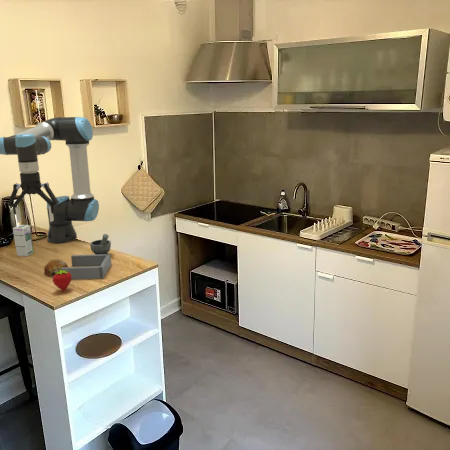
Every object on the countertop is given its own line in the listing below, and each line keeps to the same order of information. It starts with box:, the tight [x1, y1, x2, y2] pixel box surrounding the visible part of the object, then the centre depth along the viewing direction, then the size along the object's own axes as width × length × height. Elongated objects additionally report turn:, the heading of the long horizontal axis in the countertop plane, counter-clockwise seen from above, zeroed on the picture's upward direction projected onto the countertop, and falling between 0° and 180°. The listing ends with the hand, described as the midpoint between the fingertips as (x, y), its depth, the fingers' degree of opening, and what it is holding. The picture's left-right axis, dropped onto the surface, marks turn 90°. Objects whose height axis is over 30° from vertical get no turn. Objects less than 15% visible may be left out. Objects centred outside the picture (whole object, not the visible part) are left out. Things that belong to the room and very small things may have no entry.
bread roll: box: [43, 258, 69, 278], centre depth 202 cm, size 10×10×8 cm
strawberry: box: [52, 270, 72, 292], centre depth 182 cm, size 6×8×10 cm
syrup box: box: [12, 224, 35, 257], centre depth 224 cm, size 6×6×14 cm
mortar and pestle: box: [89, 233, 112, 255], centre depth 220 cm, size 11×9×12 cm
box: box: [61, 253, 112, 281], centre depth 202 cm, size 17×18×5 cm
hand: (35, 221), depth 196 cm, fingers open, 13 cm apart
